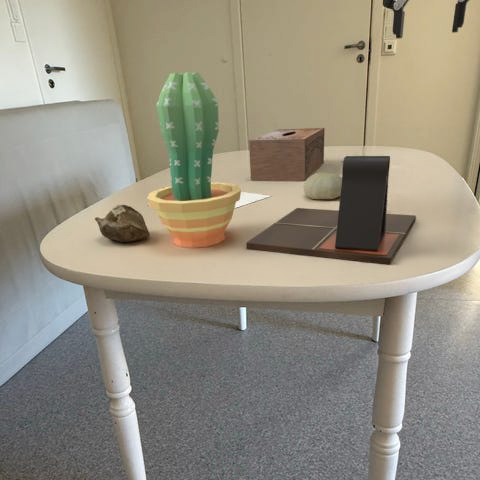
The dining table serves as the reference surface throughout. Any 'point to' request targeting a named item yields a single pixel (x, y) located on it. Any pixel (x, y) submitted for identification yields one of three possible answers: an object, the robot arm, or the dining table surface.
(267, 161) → the tissue box cover
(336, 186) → the sea urchin shell
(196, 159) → the potted cactus
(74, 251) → the dining table surface
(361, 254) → the board
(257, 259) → the dining table surface
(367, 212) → the phone stand
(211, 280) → the dining table surface
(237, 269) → the dining table surface
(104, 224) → the fossilized seashell
